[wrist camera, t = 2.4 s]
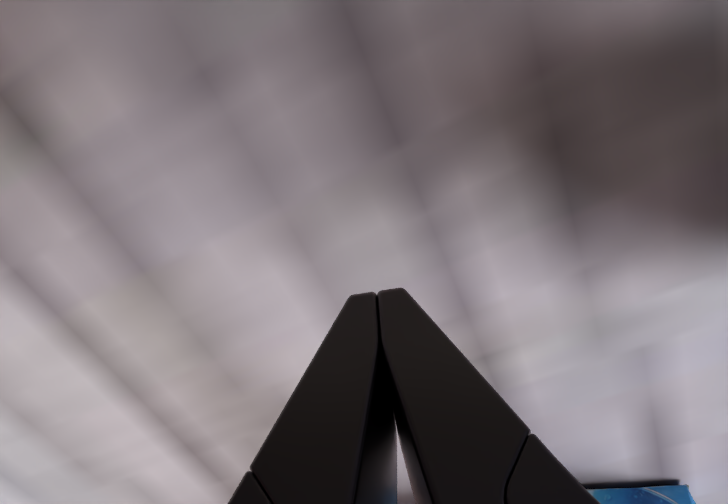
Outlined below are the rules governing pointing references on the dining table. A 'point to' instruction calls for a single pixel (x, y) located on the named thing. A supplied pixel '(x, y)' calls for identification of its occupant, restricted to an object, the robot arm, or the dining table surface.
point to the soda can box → (644, 495)
